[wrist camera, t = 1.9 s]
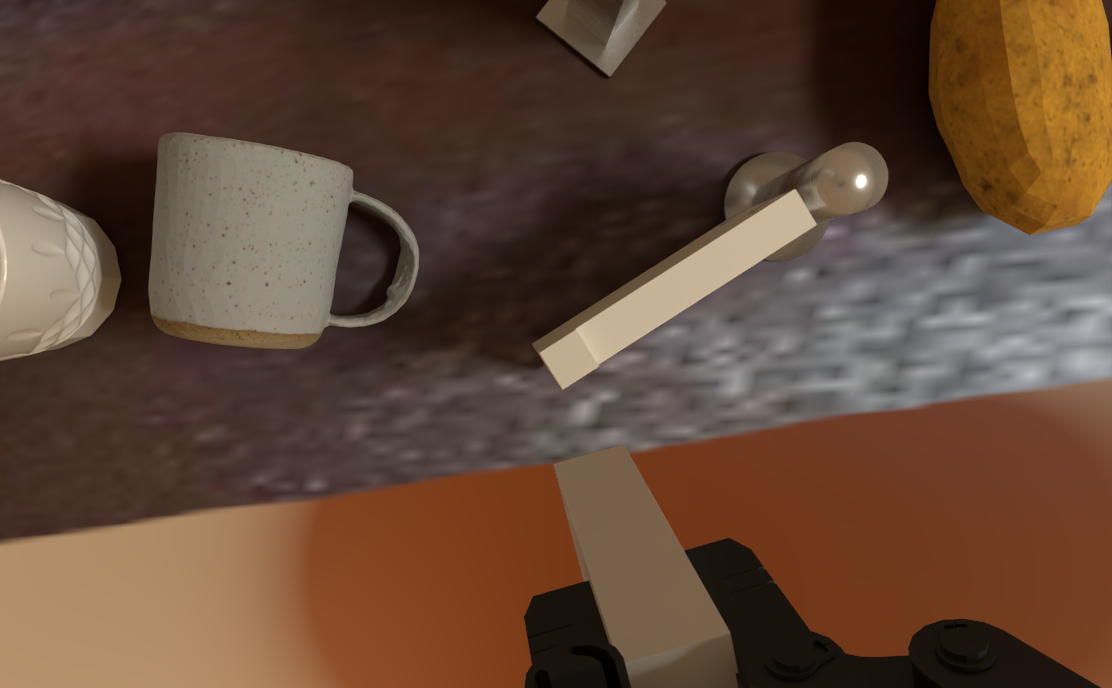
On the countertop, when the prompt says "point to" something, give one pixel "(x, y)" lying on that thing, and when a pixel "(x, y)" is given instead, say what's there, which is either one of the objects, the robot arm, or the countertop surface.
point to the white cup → (51, 273)
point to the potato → (1025, 105)
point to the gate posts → (822, 183)
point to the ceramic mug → (256, 243)
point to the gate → (672, 286)
